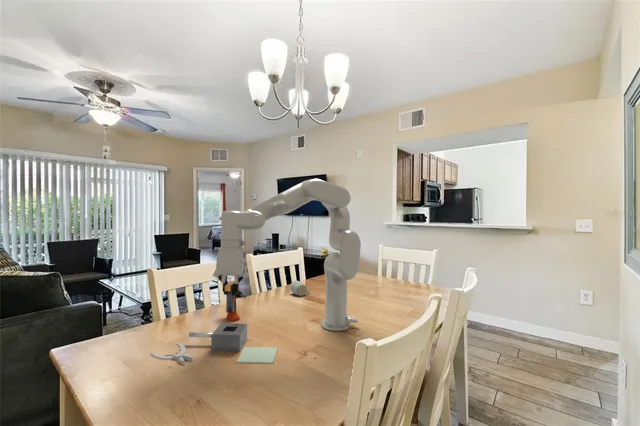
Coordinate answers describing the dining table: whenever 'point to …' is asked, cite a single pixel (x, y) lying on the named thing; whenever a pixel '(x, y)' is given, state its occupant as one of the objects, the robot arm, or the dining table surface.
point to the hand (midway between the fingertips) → (230, 293)
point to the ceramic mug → (298, 288)
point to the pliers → (176, 355)
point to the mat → (257, 355)
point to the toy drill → (234, 315)
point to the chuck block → (226, 337)
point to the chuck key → (229, 297)
